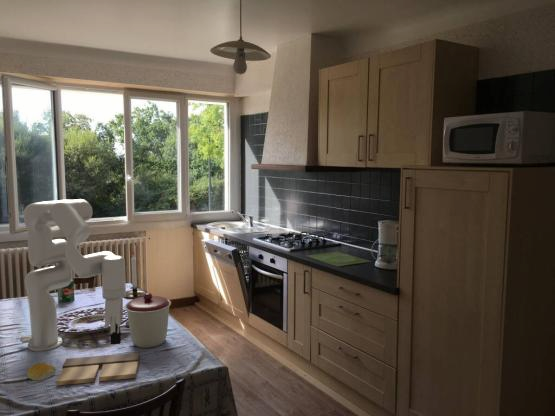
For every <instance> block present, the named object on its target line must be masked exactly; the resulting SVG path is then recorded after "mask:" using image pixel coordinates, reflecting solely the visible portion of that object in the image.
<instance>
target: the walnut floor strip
mask: <svg viewBox="0 0 555 416" xmlns="http://www.w3.org/2000/svg"><path fill="white" fill-rule="evenodd" d="M139 360H140V352H131V353H128V352H127V353H118V354H117V353H116V354H107V355H106V354H104V355H95V356H83V357H70V358H65V360H64V362H63V364H62V369H63V368H70V367H81V366H92V365H99V369H102V367H103V364H114V363H125V362H137V361H138V363H139V362H140V361H139Z"/></svg>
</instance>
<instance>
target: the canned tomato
mask: <svg viewBox="0 0 555 416" xmlns="http://www.w3.org/2000/svg"><path fill="white" fill-rule="evenodd" d="M74 282H75V281H74V279H73V278H72V281H71V283H70V284H69V285H68V286H66V287H63V288H59V289H56V290H57V302H58V304H70V303H73V302H75V299H76V298H75V286H74V284H75V283H74Z"/></svg>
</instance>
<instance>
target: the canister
mask: <svg viewBox="0 0 555 416" xmlns="http://www.w3.org/2000/svg"><path fill="white" fill-rule="evenodd" d="M171 305H172V301H171V300H170V299H167V298H166V297H164V296H159V295H153V294H152V293H151V292H147V293H145V294H144V296H143V297H139V298H136V299H132V300H131V299H130V300H129V302H127V303H125V305H124V309H125V310H126V315H127V319H128V320H127V321H128V322H129V327H128V328H129V332H130V339H131V341H132V343H133V344H134V345H135V346H136V347H138V348H142V349H145V348H147V349H149V348H155V347H158V346H159V345H162V344H163V343H164V342H165V341H166V338H167V335H168V327H169V326H168V325H169V314H170V312H169V311H170V306H171Z"/></svg>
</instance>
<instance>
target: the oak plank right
mask: <svg viewBox="0 0 555 416" xmlns="http://www.w3.org/2000/svg"><path fill="white" fill-rule="evenodd" d="M138 367H139V362H138V361H137V362H125V363H114V364H103V367H102V368H101V369H100V372H99V375H98V382H105V381H116V380H126V379H128V380H129V379H135V378H136V377H137V373H138Z"/></svg>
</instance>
